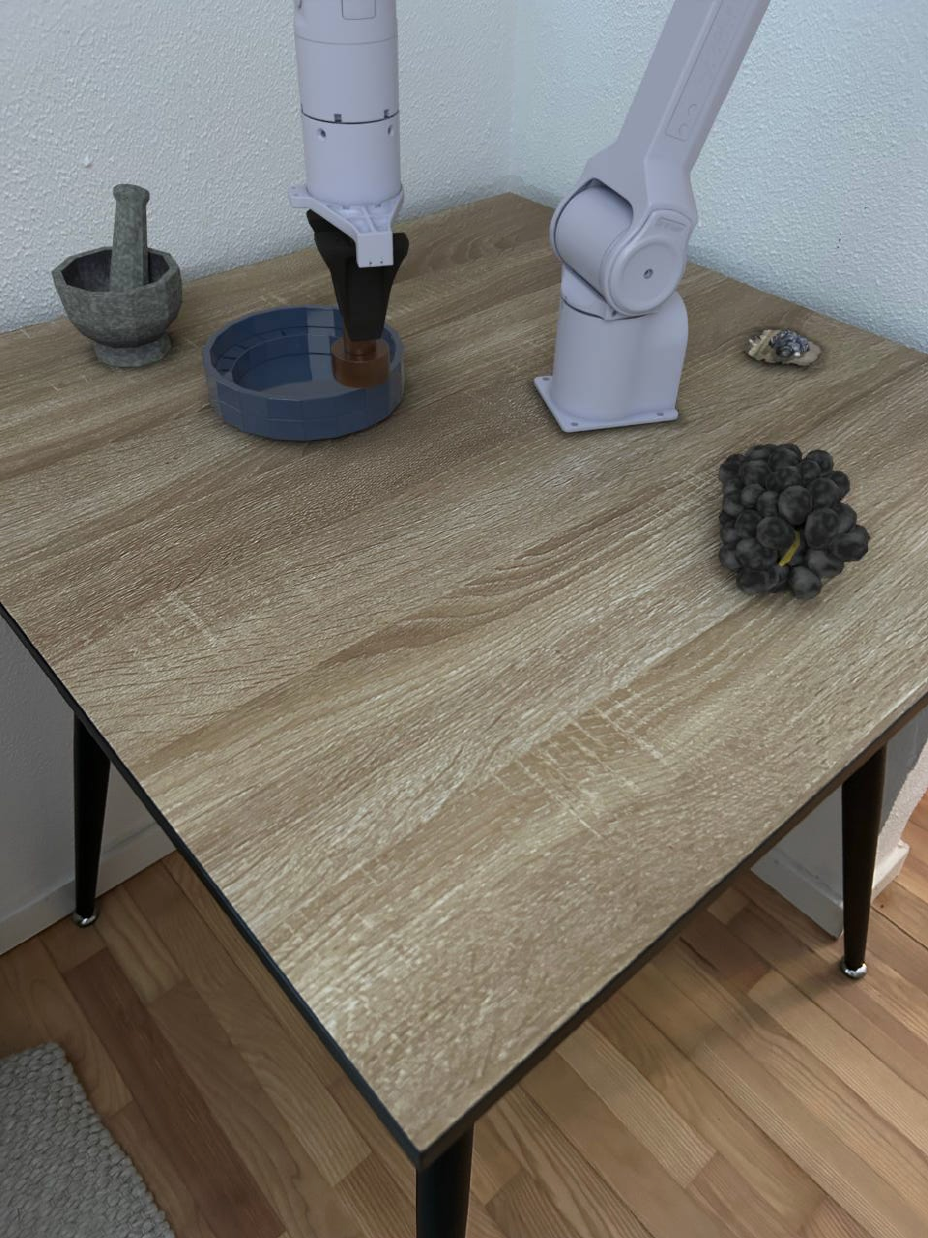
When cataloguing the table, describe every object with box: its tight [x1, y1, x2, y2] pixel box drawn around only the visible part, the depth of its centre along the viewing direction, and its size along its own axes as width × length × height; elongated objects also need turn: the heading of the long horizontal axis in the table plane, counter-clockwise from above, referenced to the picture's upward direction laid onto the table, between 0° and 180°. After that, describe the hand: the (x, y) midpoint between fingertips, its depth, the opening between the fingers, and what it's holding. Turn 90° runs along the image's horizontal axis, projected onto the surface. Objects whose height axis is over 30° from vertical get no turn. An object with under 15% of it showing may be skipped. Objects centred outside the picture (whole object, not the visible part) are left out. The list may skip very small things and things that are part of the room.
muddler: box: [331, 316, 390, 388], centre depth 65 cm, size 4×4×9 cm
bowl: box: [201, 303, 406, 442], centre depth 76 cm, size 15×15×4 cm
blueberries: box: [743, 328, 822, 367], centre depth 84 cm, size 7×8×2 cm
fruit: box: [717, 442, 871, 601], centre depth 62 cm, size 9×8×15 cm
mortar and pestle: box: [50, 183, 183, 368], centre depth 79 cm, size 11×9×12 cm
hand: (361, 328), depth 66 cm, fingers closed on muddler, 2 cm apart
